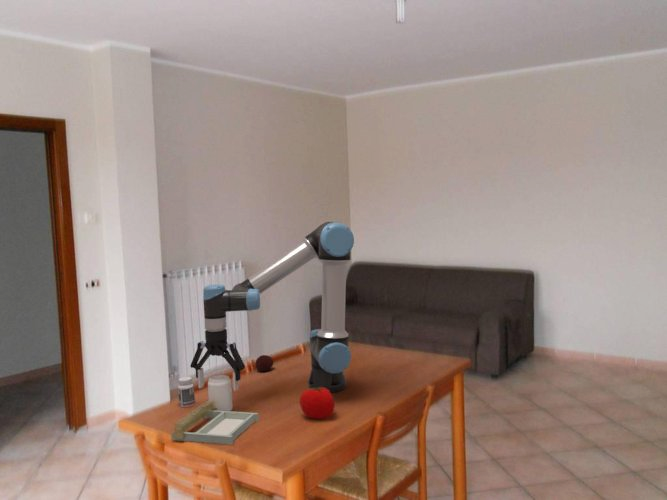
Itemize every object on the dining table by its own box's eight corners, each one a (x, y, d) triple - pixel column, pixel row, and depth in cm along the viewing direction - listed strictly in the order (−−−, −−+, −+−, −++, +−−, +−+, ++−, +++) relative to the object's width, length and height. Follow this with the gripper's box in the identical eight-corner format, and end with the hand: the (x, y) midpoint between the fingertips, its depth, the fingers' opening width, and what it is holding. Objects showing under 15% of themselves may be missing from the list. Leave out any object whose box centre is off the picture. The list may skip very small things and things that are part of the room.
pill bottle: (198, 402, 218) (196, 376, 217) (189, 408, 213) (187, 381, 212) (184, 401, 220) (182, 375, 219) (176, 406, 215) (174, 380, 214)
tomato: (325, 425, 191) (323, 394, 190) (293, 418, 198) (292, 389, 197) (343, 413, 200) (341, 384, 199) (312, 408, 207) (310, 379, 206)
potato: (277, 368, 258) (276, 353, 257) (265, 374, 251) (264, 358, 250) (264, 366, 262) (263, 351, 261) (252, 372, 254) (251, 356, 254)
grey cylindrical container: (211, 408, 212) (209, 375, 211) (233, 406, 212) (231, 374, 211) (208, 416, 204) (206, 382, 203) (231, 414, 204) (229, 380, 203)
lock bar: (217, 412, 203) (216, 400, 203) (183, 438, 182) (182, 425, 181) (207, 411, 204) (206, 399, 204) (171, 437, 183) (170, 424, 182)
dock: (258, 420, 198) (258, 413, 197) (232, 444, 178) (231, 436, 178) (202, 416, 204) (202, 409, 203) (171, 440, 184) (170, 432, 184)
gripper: (253, 327, 206) (255, 387, 207) (189, 325, 213) (192, 382, 214) (243, 332, 198) (246, 393, 200) (178, 330, 206) (181, 389, 207)
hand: (218, 388), depth 207 cm, fingers open, 13 cm apart
